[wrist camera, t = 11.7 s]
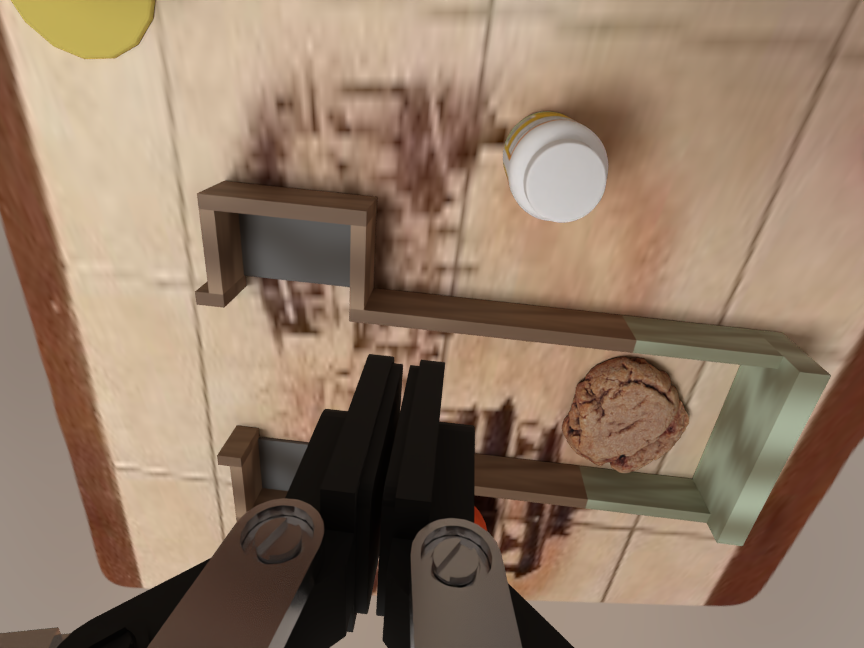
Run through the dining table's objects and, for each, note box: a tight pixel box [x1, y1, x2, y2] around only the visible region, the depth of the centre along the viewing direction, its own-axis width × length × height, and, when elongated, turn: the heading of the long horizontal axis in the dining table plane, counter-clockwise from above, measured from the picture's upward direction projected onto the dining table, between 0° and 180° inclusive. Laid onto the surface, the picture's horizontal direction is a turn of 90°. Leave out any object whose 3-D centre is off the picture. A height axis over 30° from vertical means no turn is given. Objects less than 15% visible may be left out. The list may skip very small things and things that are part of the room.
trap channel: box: [195, 181, 831, 546], centre depth 40 cm, size 30×43×6 cm
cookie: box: [562, 356, 689, 473], centre depth 42 cm, size 10×11×3 cm
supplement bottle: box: [503, 111, 608, 223], centre depth 30 cm, size 5×5×10 cm
